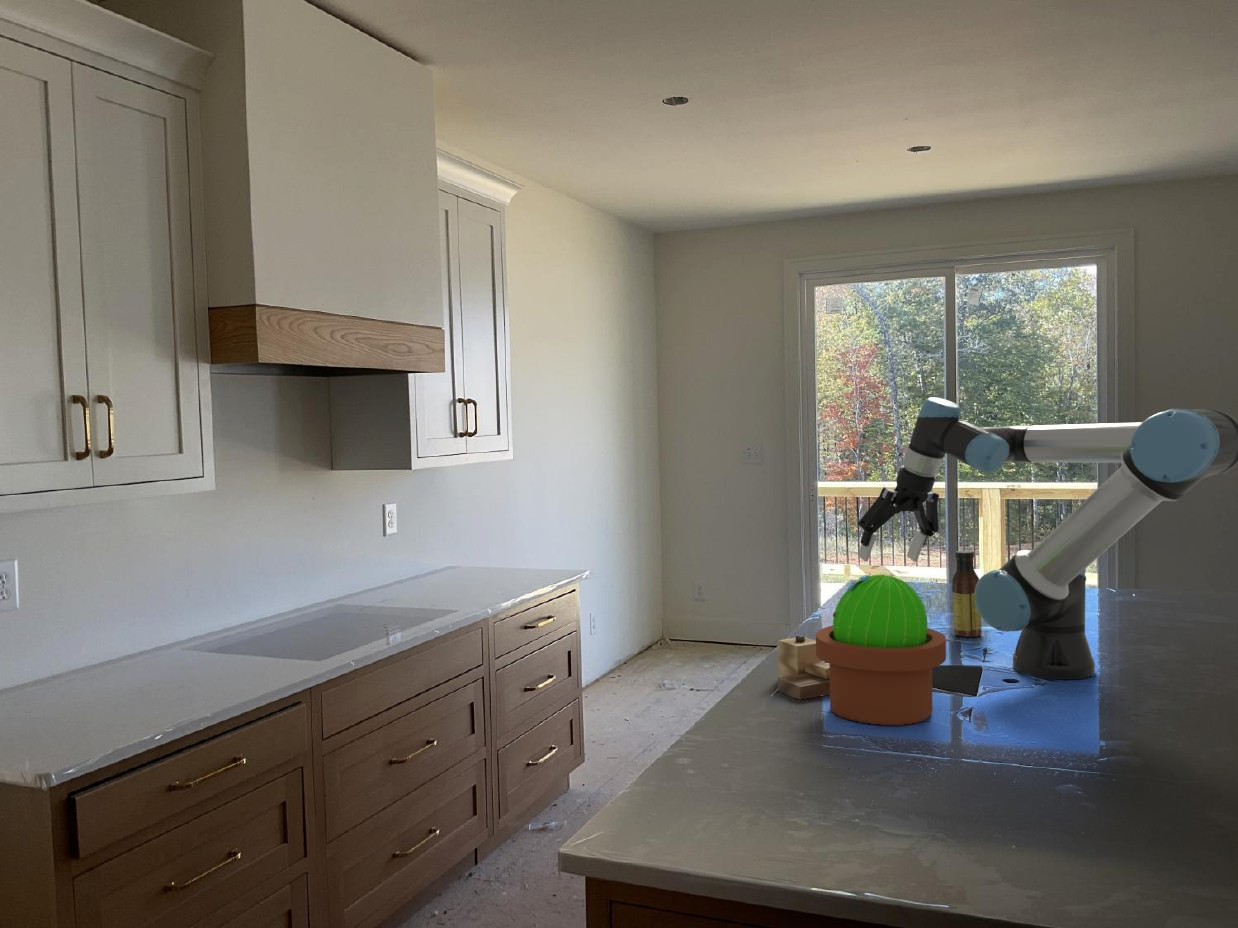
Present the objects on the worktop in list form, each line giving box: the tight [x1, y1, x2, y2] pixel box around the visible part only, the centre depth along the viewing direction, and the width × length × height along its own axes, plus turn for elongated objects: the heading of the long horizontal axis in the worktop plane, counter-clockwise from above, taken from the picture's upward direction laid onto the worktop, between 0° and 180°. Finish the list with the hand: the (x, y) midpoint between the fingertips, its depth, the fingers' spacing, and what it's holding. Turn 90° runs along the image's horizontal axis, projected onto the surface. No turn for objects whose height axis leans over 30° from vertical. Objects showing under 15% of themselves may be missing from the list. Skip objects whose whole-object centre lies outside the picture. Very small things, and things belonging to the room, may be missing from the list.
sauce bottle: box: [951, 549, 983, 638], centre depth 227 cm, size 7×6×20 cm
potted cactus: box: [815, 571, 947, 726], centre depth 171 cm, size 22×22×25 cm
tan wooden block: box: [778, 634, 830, 679], centre depth 189 cm, size 12×6×9 cm, turn 27°
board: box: [777, 673, 830, 701], centre depth 187 cm, size 7×22×3 cm, turn 117°
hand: (887, 558), depth 211 cm, fingers open, 13 cm apart
